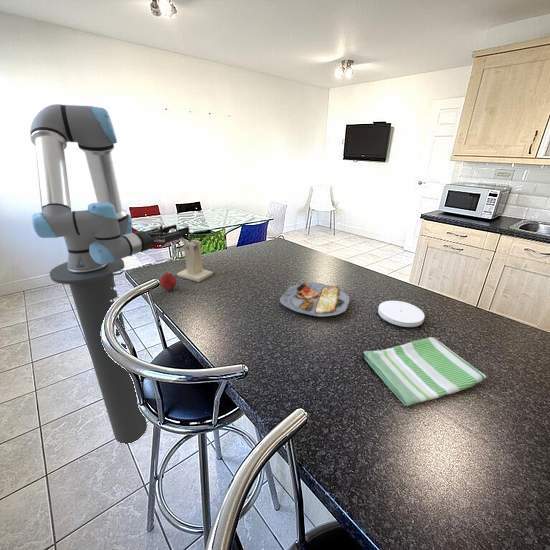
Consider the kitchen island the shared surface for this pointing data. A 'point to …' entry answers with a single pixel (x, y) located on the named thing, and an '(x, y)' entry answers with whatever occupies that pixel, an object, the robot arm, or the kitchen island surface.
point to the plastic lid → (401, 313)
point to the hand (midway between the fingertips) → (182, 228)
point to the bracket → (194, 263)
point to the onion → (168, 281)
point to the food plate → (315, 299)
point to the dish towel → (422, 370)
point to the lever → (184, 239)
